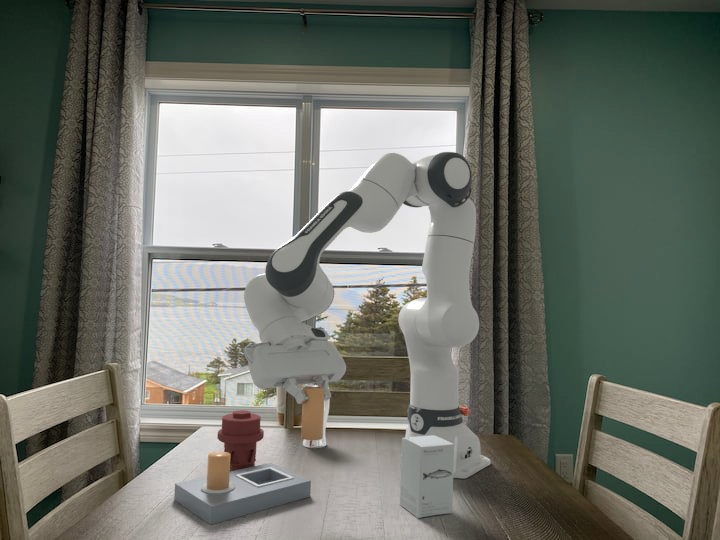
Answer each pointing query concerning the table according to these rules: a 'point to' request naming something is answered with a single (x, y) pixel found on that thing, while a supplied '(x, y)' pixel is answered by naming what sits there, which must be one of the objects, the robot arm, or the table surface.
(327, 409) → the beer glass
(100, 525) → the table surface
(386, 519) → the table surface
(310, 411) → the orange smooth rounded part
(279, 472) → the grey peg board
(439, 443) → the supplement box
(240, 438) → the mechanical component
